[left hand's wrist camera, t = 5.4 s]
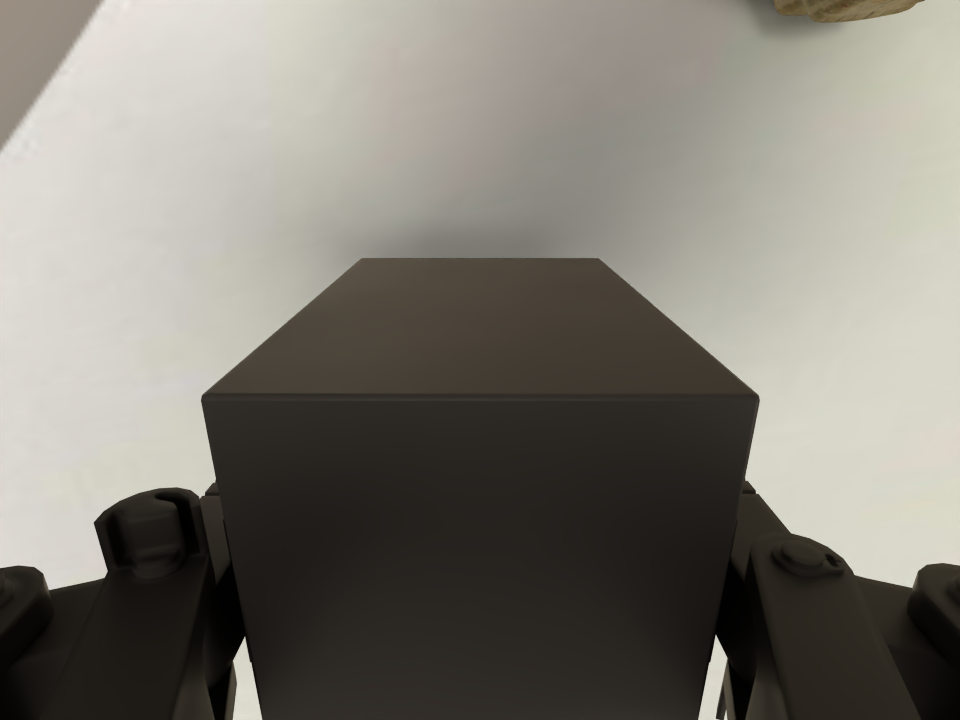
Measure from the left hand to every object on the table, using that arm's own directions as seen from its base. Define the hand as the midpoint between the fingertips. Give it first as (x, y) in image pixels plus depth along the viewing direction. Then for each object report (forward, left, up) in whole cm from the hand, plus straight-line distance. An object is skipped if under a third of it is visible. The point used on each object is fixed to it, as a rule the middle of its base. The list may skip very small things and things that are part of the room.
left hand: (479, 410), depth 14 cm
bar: (+7, +7, 0) cm, 10 cm away
